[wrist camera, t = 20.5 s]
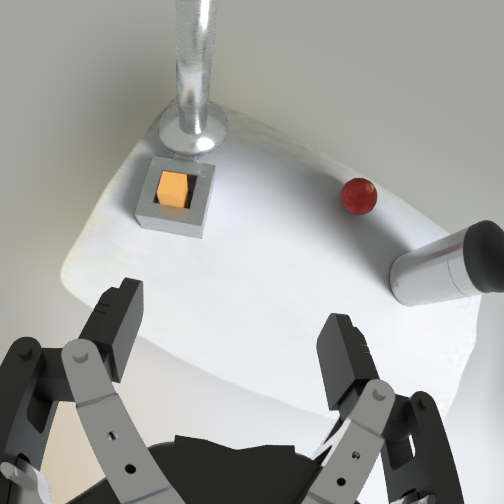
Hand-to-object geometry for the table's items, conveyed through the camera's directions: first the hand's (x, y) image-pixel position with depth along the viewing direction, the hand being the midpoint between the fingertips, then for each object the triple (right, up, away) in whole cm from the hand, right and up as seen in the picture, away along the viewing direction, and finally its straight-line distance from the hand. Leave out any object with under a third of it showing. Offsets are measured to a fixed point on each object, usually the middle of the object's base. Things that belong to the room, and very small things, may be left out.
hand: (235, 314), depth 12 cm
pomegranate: (+17, +10, +36) cm, 41 cm away
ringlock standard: (-10, +15, +32) cm, 36 cm away
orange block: (-10, +9, +30) cm, 33 cm away
